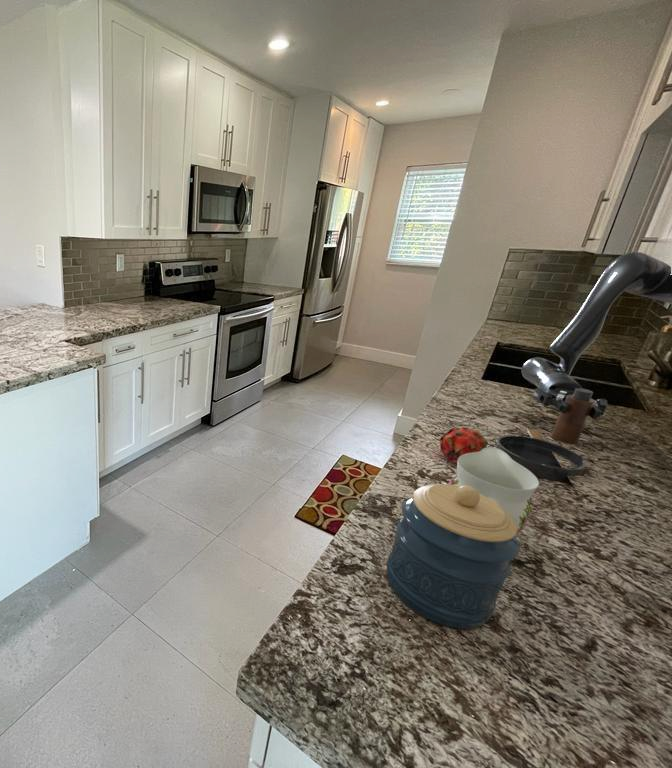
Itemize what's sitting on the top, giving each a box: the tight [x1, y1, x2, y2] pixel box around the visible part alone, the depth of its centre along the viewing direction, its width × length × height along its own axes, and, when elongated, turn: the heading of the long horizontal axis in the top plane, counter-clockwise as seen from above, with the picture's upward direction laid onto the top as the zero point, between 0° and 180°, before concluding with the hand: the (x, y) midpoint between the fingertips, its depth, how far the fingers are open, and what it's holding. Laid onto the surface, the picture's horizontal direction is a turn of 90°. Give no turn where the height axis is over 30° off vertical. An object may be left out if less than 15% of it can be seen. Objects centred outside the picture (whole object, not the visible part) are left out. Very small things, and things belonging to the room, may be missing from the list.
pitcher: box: [447, 446, 540, 538], centre depth 67 cm, size 11×18×14 cm, turn 144°
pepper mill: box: [550, 388, 596, 445], centre depth 98 cm, size 5×5×13 cm
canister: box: [386, 483, 520, 630], centre depth 56 cm, size 13×13×18 cm
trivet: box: [525, 427, 589, 441], centre depth 101 cm, size 12×12×1 cm
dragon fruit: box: [438, 426, 489, 464], centre depth 92 cm, size 8×8×12 cm
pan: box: [493, 434, 588, 482], centre depth 92 cm, size 15×15×4 cm
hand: (580, 412), depth 96 cm, fingers closed on pepper mill, 5 cm apart
